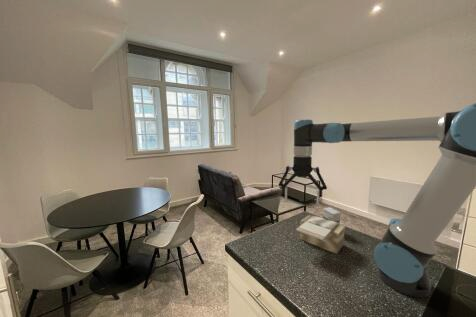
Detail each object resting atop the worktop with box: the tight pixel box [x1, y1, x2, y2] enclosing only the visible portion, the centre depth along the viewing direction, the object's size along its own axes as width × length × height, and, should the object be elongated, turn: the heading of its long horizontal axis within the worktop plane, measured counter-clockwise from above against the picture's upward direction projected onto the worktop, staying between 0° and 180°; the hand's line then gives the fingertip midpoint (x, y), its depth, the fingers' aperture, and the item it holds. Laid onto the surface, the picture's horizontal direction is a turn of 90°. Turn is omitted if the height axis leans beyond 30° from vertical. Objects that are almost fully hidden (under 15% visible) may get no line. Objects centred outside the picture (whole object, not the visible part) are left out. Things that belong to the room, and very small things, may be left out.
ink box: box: [321, 206, 341, 224], centre depth 110 cm, size 8×5×12 cm, turn 17°
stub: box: [296, 222, 331, 240], centre depth 89 cm, size 12×10×1 cm
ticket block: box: [299, 214, 346, 255], centre depth 98 cm, size 18×10×11 cm, turn 46°
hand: (301, 202), depth 88 cm, fingers open, 13 cm apart
